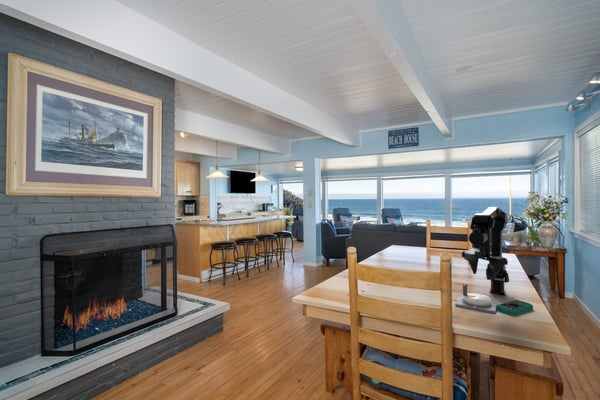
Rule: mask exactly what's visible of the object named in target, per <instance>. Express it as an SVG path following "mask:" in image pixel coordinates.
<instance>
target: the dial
mask: <svg viewBox="0 0 600 400" xmlns="http://www.w3.org/2000/svg"><path fill="white" fill-rule="evenodd" d="M462 295H463V301H464V302H466V303H468V304H471V305H476V306H489V305H491V300H492V299H491V297H490V296H487V295H484V294H481V293H473V292H468V284H467V283H462Z"/></svg>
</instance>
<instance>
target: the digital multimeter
mask: <svg viewBox="0 0 600 400" xmlns="http://www.w3.org/2000/svg"><path fill="white" fill-rule="evenodd" d="M533 310H534V305H533V304H532V303H529V302H526V301H522V300H520V299H513V300H510V301H507V302H504V303H500V304H497V306H496V311H498V312H500V313H504V314H507V315H510V316H513V317H515V316H517V315H520V314H522V313H526V312H529V311H533Z"/></svg>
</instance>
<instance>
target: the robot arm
mask: <svg viewBox="0 0 600 400" xmlns="http://www.w3.org/2000/svg"><path fill="white" fill-rule="evenodd" d="M471 218H472V219H471V223H470V227H469V229H470V230H473V232H471V233H470V234H469V235H468V242H470V244H471V245H472V248H469V249H467V250H463V251H462V252H461V257H462V258H463V259H464V260H466V261H467V262H468V264H469V266H470V268H471V271H472V273H473V275H476V274H477V272H478V264H479V260H483V261H487V262H488V264H487V265H486V269H485V277H486V280H488V281H490V289H489V293H490V294H495V295H502V296H506V290H505V284H507V283H510V276H509V273H508V270H507V268H506V266H507V265H508V264H509V263H508V259H507V257H503V232H504V230H505V229H506V228H507V224H508V222H509V220H508V215H507V213H506V212H505V211H503V210H502V209H501V207H499V206H488V207H486V209H485V210H484V211H483V212H479V213H478V212H477V213H474V215H472V217H471Z"/></svg>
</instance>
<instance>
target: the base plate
mask: <svg viewBox="0 0 600 400" xmlns="http://www.w3.org/2000/svg"><path fill="white" fill-rule="evenodd" d="M454 305H455V306H454V307H458V308H463V309H469V310H475V311H480V312H483V313H484V312H485V313H490V314H495V315H496V313H497V310H496V306H497V305H498V300H496V299H491V305H489V306H476V305H471V304H468V303H466V302H464V301H463V294H462V293H461V294H459V295H458V297H457V300H456V302H455V303H454Z"/></svg>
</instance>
